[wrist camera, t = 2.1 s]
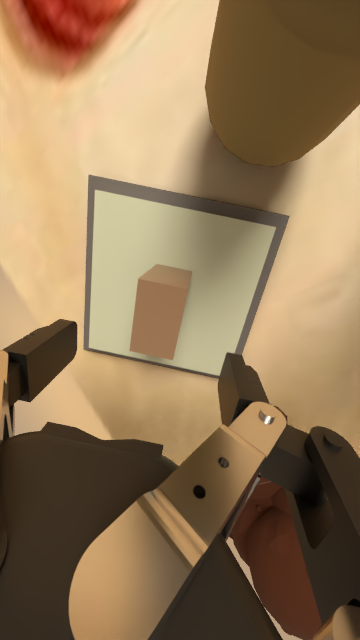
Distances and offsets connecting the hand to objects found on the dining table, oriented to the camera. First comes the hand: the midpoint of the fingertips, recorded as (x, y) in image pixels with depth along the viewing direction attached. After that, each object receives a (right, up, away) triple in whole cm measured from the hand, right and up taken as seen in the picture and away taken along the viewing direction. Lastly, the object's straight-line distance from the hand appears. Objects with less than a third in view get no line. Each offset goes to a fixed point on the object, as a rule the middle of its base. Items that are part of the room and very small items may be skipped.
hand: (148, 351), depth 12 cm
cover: (+1, +4, +9) cm, 10 cm away
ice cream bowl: (+11, -10, +14) cm, 21 cm away
